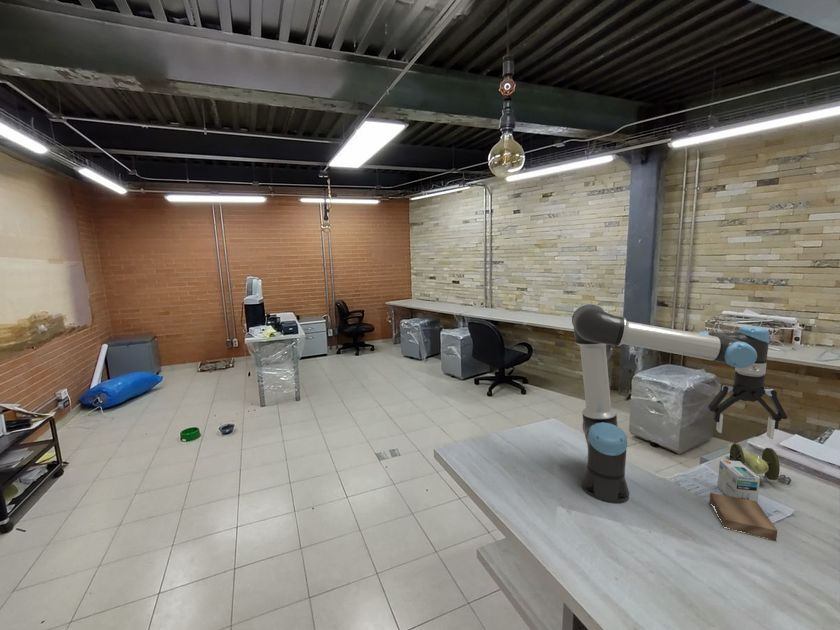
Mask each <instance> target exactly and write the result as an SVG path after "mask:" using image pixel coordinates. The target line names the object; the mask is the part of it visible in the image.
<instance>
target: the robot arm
mask: <svg viewBox="0 0 840 630" xmlns="http://www.w3.org/2000/svg"><path fill="white" fill-rule="evenodd" d="M571 325H572V326H573V333H574V336H573V337H574V343H575V345H577V346H579V350H580V359H581V369H582V379H583V390H584V400H585V408H584V409H583V410H582V431H583V433H584V437H585V441H586V444H587V446H586V447H587V464H586V465H587V466H586V470H585V472H584V474H583V476H582V478H581V482H580V487H581V489H582V490H583V491H584V493H586V494H587V495H588V496H590V497H592V498H593V499H596V500H598V501H601V502H604V503H608V504H614V505H615V504H616V505H617V504H618V505H619V504H621V505H622V504H625V503H628V501H629V500H630V490H629V486H628V484H627V480H626V476H625V475H626V463H627V462H626V461H627V447H628V439H627V438H628V437H627V435H626V432H625V431H624V430H623V429H622V428H620V427H619V426H618V416H617V411H616V410H615V409H614V408H612V402H611V389H610V381H609V368H608V356H607V345H609V346H615V347H620V346H622V345H627V346H632V347H638V348H643V349H649V350H655V351H659V352H664V353H671V354H675V355H676V354H677V355H681V356H686V357H690V358H697V359H702V360H708V361H712V362H713V361H714V362H717V363H722V364H727V365H728V366H731V367H734V370H735V372H734V376H733V377H734V378H733V385H732V386H730V385H726V384H724V383H723V384H721V386H720V390H719V391H718V393H717V394H716V396H715V397H714V398H713V399H712V401H710V403H709V404H708V405H707V408H708V410H710V412H713V420H714V422H715V423H716V431H717V432H718V433H719V434H722V433H723V422H724V421H723V420H724V414H723V412H724V411H725V410H727V409H729V407H731V406H732V405H733V404H735V403H737V402H739V401H740V400H741V402H747V401H748V402H753V403H755V402H758V403H759V404H760V405H761V406H762V407H763V409H764V410H766V412H767V413H768V414H769V415H770V416H768V417H767V418H768V419H767V426H766V427H767V428H766V437H768V439H770V440H774V435H775V430H778V429H779V424H780V422H781V421H782V420H787V419H788V415H787V414H786V412H785V410H784V408H783V405H782V404H781V402H780V400H779V399H778V394H777V390H775V389H773V388H771V387H770V388H767V389H765V388H764V387H765V381H766V377H765V375H766V373H767V372H766V371H767V361H768V354H769V353H768V352H769V346H770V345H769V344H770V331H769V329H767V328H765V327H762V326H756V325H755V326H753V325H752V326H751V325H745V326H744V325H742V326H740V327H739V328H738V330H737V331H736V332H724V331H723V332H719V331H699V332H693V331H692V332H691V331H686V330H679V329H674V328H669V327H662V326H657V325H651V324H645V323H640V322H634V321H628V320H627V318H625V317H624V316H618V315H614V314H612V313H609V312H607V311H605V310H604V309H603V308H602V307H601V306H599V305H597V304H583V305H581V306H579V307H578V308H576V310H575V311H574V313H572V317H571ZM731 391H732V392H733V393H732V394H731V395H730V396H729V397H728V398H726V399H725V397H726V396H727V395H728V394H729V393H730V392H731ZM765 394H766V395H767V396H768V397H769V399H770V401H771V402H772V405H773V406H774V408H775V411H776V412H777V413H776V412H775V411H774V410H773V409H772V408H771V407H770V406H769V405H768V404H767V402H766V401H764V399H763V398H762V397H763V396H764V395H765ZM724 399H725V400H724Z"/></svg>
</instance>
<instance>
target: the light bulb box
mask: <svg viewBox="0 0 840 630" xmlns="http://www.w3.org/2000/svg"><path fill="white" fill-rule="evenodd" d="M760 481H761V477H760V476H759V474H757V473H754V472H753V471H752V470H750V469H749V468H748V467H746V466H745V465H744V464H742V463H741V462H740V461H730V459H728V460H727V459H719V466H718V477H717V488H718V489H719V490H720V491H721V492H722V493H723V494H724V495H725V496H730V497H736V498H741V499H747V500H752V501H756V502H757V503H758V501H759V500H758V499H759V491H760V483H761V482H760Z"/></svg>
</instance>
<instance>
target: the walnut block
mask: <svg viewBox="0 0 840 630" xmlns="http://www.w3.org/2000/svg"><path fill="white" fill-rule="evenodd" d="M709 493H710V494H709V502H708V503H709V505H710V504H712V505H713V506H715V509H716V511H717V514H718V516H719V518H720V519H721V521H722V523H723V525H724V527H727V528H730V529H733V530H737V531H742V532H746V533H749V534H752V535H751V536H753V535H756V536H755V537H757V536H760V537H759V538H762V537H765V538H764V539H766V538H768V539H767V540H770V539H771V540H770V541H774V542H776V541H777V537H778V529H777V528H776V527H775V525H774V524H773V522H772V521H771V520H770V518H769V517H768V516H767V514H766V512H765V511H764V510H763V508H762V506H761V505H759V503H758V502H756V501H752V500H747V499H741V498H736V497H730V496H726V495H725V494H724V495H723V494H718V493H713V492H709ZM723 525H722V526H723ZM724 527H723V528H724ZM733 530H732V531H733ZM737 531H736V532H737ZM749 534H748V535H749Z"/></svg>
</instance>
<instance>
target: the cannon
mask: <svg viewBox="0 0 840 630" xmlns="http://www.w3.org/2000/svg"><path fill="white" fill-rule="evenodd" d="M726 449H727V451H728V452H729V460H730V461H740V462H741V463H742V464H744V465H745V466H746V467H747V468H749V469H750V470H751V471H752V472H754V473H755V474H756V475H764V476H765V477H766V478H767V479H768V480H770V481H776V480H777V479H779V475H780V467H781V465H780V460H779V456H778V454H777V452H776V450H774V449H773V448H771V447H765V448H764V449H763V451H762V454H761V456H759V454H756V453H755V452H749V451H747V450H745V449H744V448H743V447H742V446H741V445H740V444H739V443H729V444H728V445H727V446H726Z"/></svg>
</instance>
